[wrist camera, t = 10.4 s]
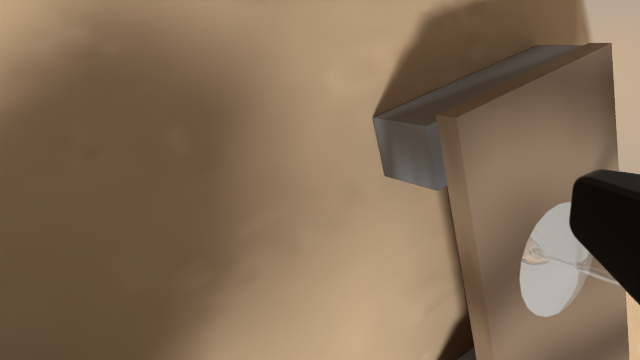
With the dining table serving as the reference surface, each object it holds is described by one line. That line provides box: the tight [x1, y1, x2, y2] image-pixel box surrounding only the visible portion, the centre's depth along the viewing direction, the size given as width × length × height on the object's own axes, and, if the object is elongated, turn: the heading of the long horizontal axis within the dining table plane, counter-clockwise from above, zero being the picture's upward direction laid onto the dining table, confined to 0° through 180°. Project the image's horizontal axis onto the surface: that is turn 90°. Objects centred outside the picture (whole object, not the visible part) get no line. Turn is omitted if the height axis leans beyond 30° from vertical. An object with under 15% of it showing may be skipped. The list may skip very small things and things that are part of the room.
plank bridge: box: [373, 43, 629, 360], centre depth 27 cm, size 16×10×4 cm, turn 16°
